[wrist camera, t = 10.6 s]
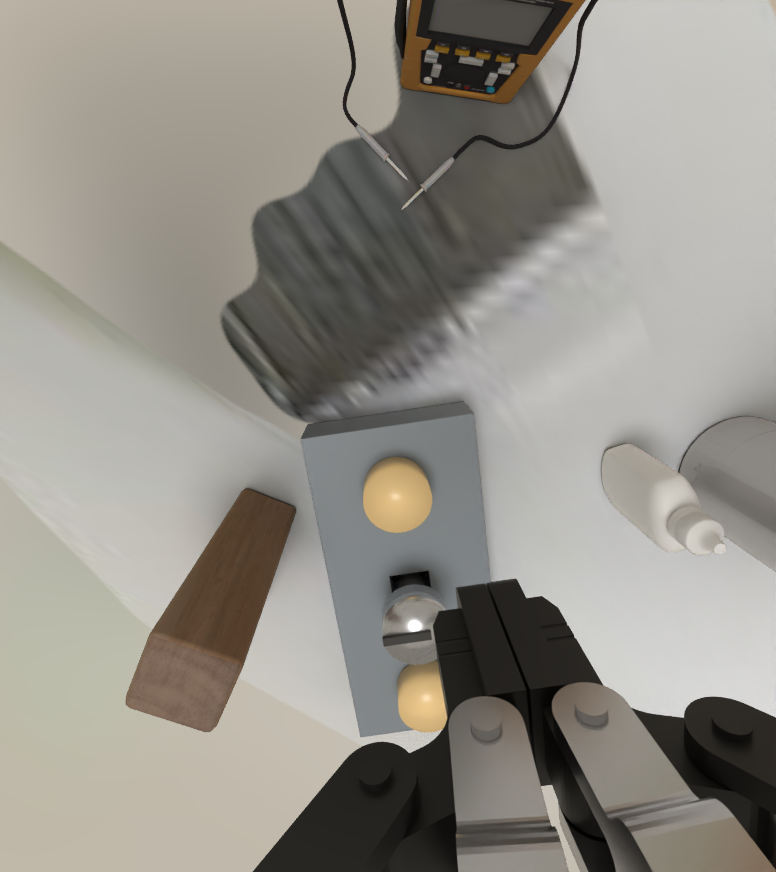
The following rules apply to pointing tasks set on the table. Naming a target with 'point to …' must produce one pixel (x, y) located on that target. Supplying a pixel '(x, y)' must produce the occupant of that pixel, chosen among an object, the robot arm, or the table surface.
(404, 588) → the dial middle
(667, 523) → the eye dropper bottle
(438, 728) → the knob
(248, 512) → the wooden block
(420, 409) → the panel
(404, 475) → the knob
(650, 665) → the table surface
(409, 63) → the multimeter
